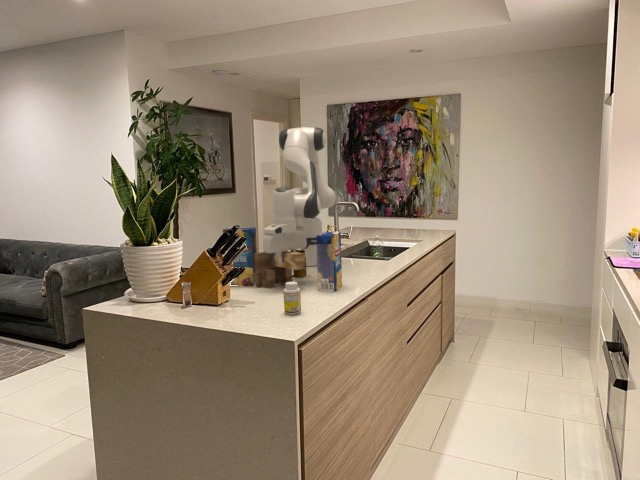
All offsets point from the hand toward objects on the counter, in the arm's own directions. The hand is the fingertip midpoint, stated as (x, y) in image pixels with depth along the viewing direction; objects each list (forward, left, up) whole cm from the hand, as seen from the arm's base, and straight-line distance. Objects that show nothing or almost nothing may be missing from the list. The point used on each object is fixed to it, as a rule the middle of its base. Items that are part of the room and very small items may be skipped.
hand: (286, 261), depth 200 cm
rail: (0, +1, -2) cm, 2 cm away
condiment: (-17, -13, -11) cm, 24 cm away
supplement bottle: (+23, +31, -11) cm, 40 cm away
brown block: (0, -8, -11) cm, 14 cm away
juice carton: (+9, -19, -11) cm, 24 cm away
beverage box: (-10, +15, -11) cm, 21 cm away
